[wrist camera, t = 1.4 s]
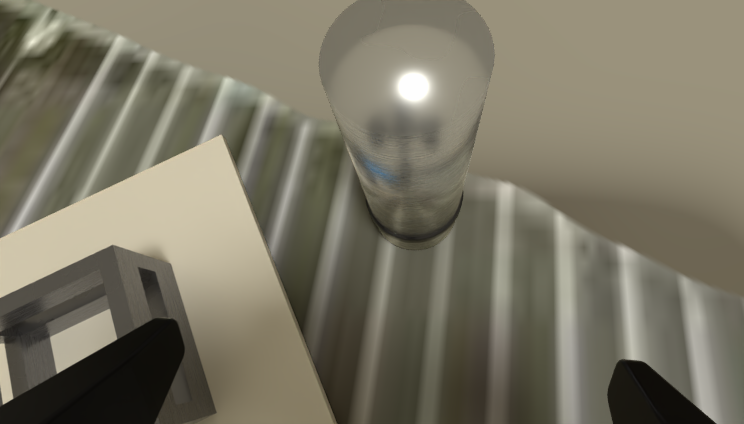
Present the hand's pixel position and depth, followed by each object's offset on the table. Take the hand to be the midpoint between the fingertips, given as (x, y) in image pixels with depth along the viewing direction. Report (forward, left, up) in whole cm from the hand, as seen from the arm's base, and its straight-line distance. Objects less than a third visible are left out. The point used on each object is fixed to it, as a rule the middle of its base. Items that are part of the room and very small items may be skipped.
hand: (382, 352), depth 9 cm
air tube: (+6, -4, -13) cm, 15 cm away
